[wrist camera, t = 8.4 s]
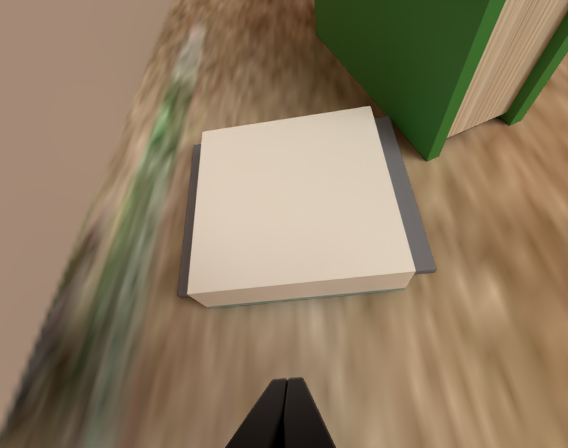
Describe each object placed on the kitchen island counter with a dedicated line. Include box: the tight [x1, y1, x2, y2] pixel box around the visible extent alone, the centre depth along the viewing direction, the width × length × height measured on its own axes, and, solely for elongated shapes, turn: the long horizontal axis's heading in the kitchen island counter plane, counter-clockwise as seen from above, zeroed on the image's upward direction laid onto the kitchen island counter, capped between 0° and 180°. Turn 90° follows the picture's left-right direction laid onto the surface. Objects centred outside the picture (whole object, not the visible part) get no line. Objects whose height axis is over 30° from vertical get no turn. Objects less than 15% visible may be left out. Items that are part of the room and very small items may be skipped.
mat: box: [177, 116, 437, 298], centre depth 21 cm, size 12×15×1 cm
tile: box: [187, 106, 416, 309], centre depth 19 cm, size 3×11×11 cm
